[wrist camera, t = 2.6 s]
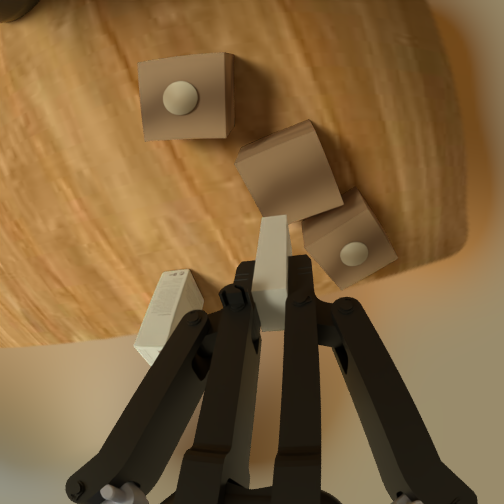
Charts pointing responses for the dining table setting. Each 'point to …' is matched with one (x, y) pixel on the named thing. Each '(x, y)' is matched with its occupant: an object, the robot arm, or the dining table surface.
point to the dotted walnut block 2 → (348, 241)
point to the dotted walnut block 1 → (187, 96)
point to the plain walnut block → (289, 174)
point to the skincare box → (167, 311)
